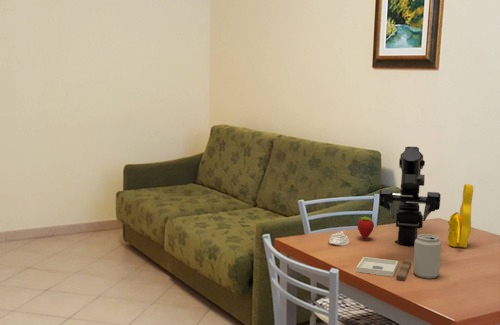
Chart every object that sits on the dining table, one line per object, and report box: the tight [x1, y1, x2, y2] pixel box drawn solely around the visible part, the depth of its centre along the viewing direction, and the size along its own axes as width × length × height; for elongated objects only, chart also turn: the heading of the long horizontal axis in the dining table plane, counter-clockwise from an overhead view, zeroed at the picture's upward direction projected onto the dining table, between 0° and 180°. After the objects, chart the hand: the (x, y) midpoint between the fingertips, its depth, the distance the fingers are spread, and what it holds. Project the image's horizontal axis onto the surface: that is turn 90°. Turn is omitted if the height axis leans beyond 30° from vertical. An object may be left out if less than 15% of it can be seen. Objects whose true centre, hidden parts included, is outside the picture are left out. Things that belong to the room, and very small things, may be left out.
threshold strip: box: [395, 260, 412, 282], centre depth 176 cm, size 16×2×1 cm, turn 158°
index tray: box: [355, 256, 399, 278], centre depth 179 cm, size 11×11×2 cm
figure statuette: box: [447, 184, 474, 249], centre depth 203 cm, size 18×8×22 cm, turn 170°
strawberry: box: [356, 216, 375, 240], centre depth 211 cm, size 6×8×10 cm
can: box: [412, 233, 442, 279], centre depth 173 cm, size 8×8×12 cm
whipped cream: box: [328, 230, 350, 246], centre depth 206 cm, size 8×7×5 cm
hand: (408, 219), depth 180 cm, fingers open, 9 cm apart
